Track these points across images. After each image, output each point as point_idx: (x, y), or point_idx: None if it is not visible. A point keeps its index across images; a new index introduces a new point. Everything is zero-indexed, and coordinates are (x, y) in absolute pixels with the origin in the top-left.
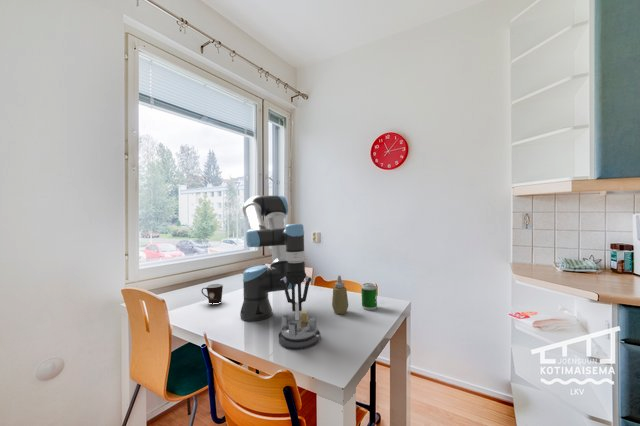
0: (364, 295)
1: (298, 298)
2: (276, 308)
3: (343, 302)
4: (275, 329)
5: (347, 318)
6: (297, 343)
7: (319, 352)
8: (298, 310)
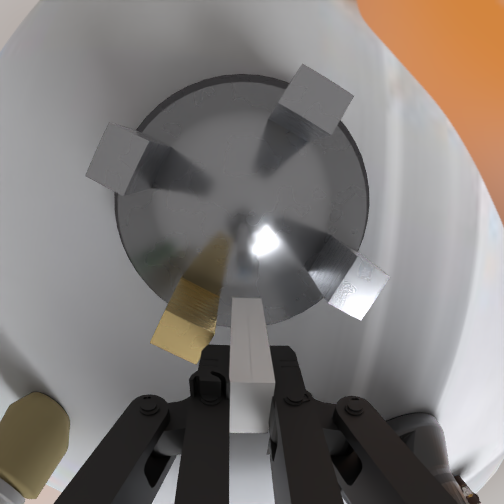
0: None
1: (228, 435)
2: None
3: (9, 418)
4: (352, 341)
5: (17, 354)
6: (267, 83)
7: (159, 43)
8: (235, 339)
